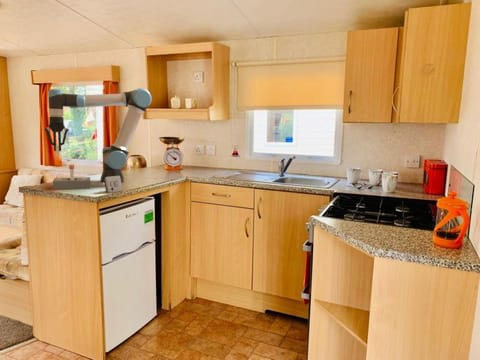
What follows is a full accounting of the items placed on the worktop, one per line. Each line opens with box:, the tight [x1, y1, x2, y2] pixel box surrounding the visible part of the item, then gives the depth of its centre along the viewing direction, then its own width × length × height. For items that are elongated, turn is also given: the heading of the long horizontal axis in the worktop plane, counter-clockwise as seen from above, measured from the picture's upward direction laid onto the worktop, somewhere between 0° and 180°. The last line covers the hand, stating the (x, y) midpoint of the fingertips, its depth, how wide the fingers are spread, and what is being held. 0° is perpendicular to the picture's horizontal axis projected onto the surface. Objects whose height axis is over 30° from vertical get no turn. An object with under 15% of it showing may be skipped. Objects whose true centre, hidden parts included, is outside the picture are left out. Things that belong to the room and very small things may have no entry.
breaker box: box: [52, 176, 91, 191], centre depth 221 cm, size 20×13×5 cm, turn 112°
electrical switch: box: [104, 176, 123, 194], centre depth 211 cm, size 9×5×9 cm, turn 141°
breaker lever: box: [68, 164, 76, 180], centre depth 220 cm, size 3×6×10 cm, turn 22°
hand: (57, 156), depth 216 cm, fingers closed
